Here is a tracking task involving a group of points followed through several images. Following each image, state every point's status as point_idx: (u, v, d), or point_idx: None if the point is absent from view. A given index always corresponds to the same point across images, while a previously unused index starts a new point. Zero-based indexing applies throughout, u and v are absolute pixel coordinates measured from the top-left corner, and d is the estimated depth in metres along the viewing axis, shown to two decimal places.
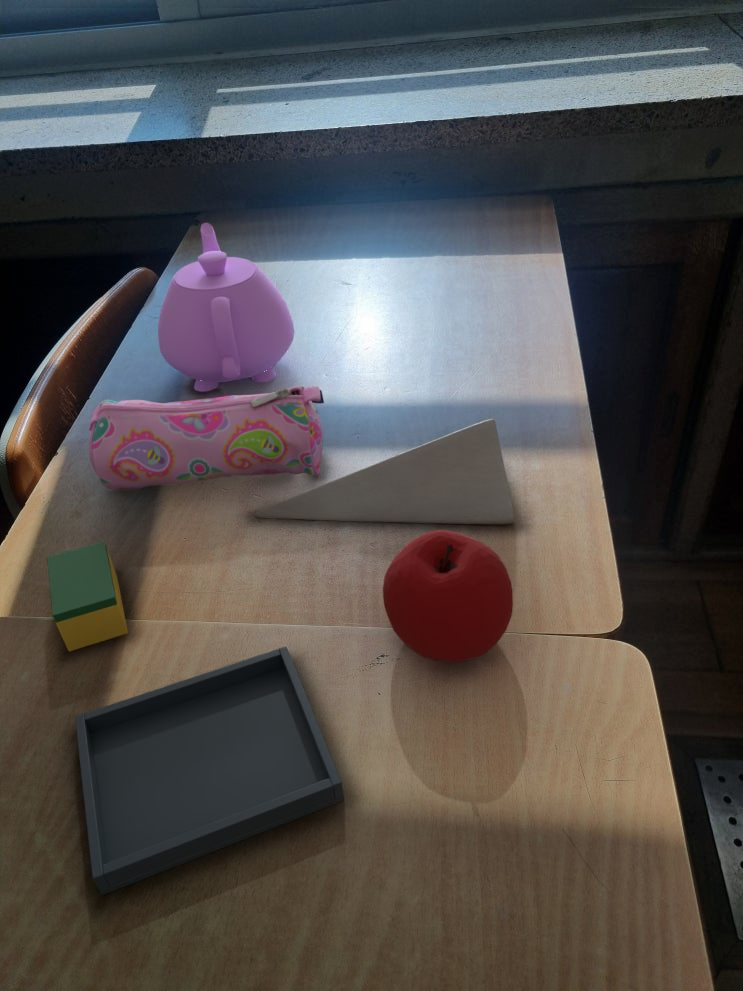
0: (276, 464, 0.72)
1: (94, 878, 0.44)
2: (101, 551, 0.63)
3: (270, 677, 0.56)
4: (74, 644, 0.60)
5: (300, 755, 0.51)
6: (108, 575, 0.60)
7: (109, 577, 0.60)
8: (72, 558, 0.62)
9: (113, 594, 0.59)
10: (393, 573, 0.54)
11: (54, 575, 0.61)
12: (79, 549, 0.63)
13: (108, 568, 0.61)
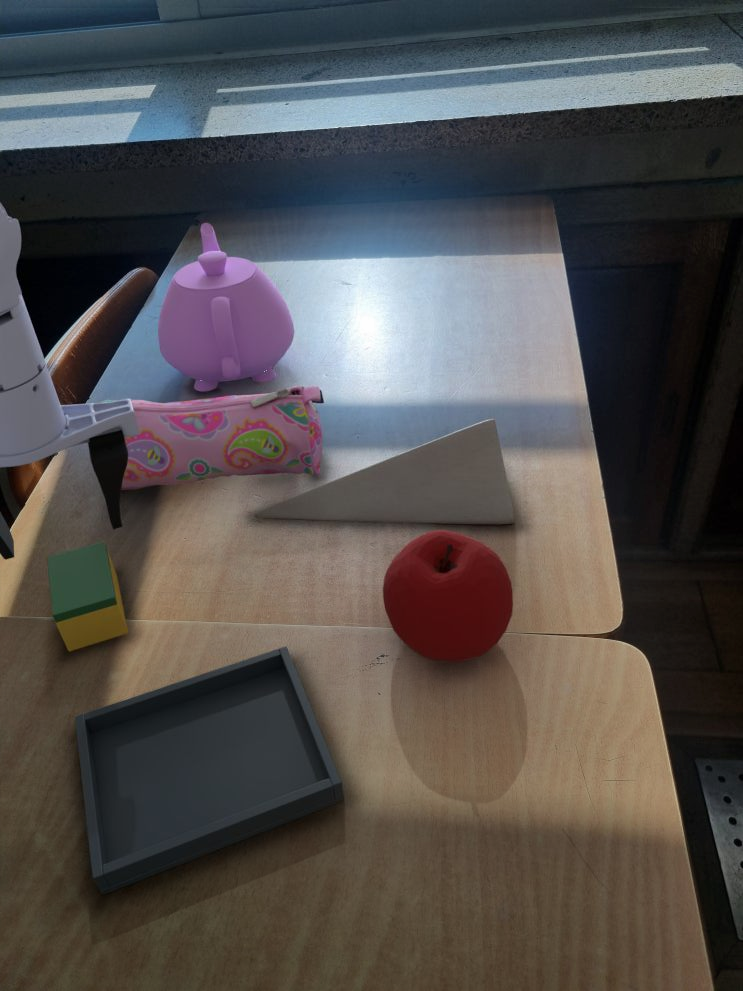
0: (276, 464, 0.72)
1: (94, 878, 0.44)
2: (101, 551, 0.63)
3: (270, 677, 0.56)
4: (74, 644, 0.60)
5: (300, 755, 0.51)
6: (108, 575, 0.60)
7: (109, 577, 0.60)
8: (72, 558, 0.62)
9: (113, 594, 0.59)
10: (393, 573, 0.54)
11: (54, 575, 0.61)
12: (79, 549, 0.63)
13: (108, 568, 0.61)
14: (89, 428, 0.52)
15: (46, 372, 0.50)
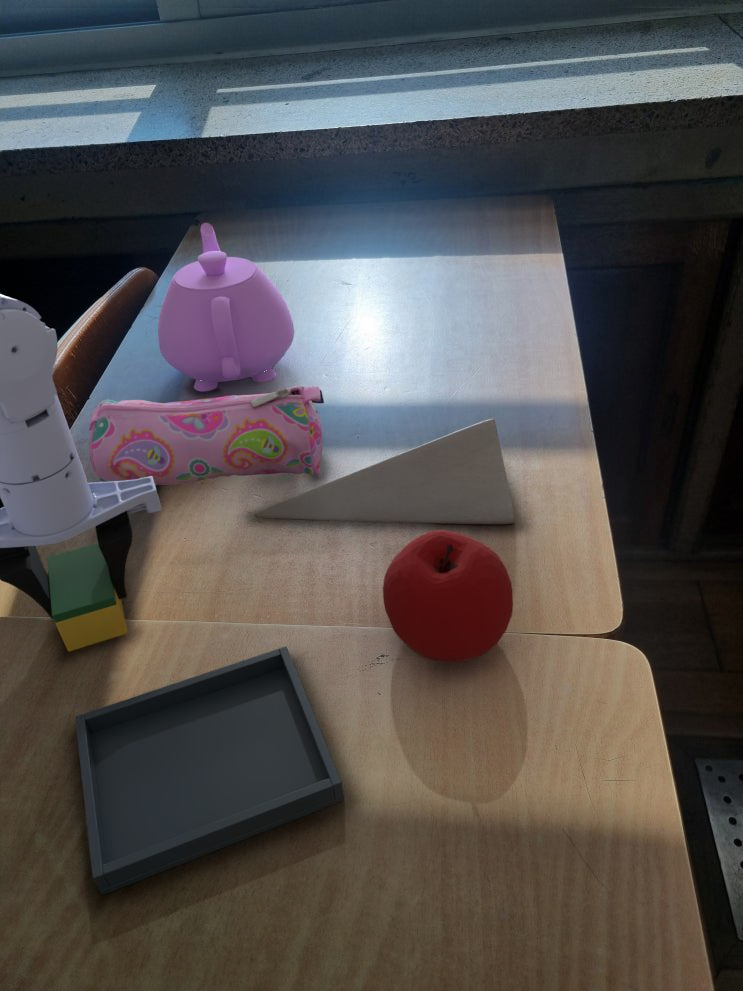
0: (276, 464, 0.72)
1: (94, 878, 0.44)
2: None
3: (270, 677, 0.56)
4: (74, 644, 0.59)
5: (300, 755, 0.51)
6: (108, 575, 0.60)
7: (109, 577, 0.60)
8: (72, 558, 0.62)
9: (113, 594, 0.59)
10: (393, 573, 0.54)
11: (54, 575, 0.61)
12: (79, 549, 0.63)
13: (108, 568, 0.61)
14: (115, 507, 0.56)
15: (77, 458, 0.54)
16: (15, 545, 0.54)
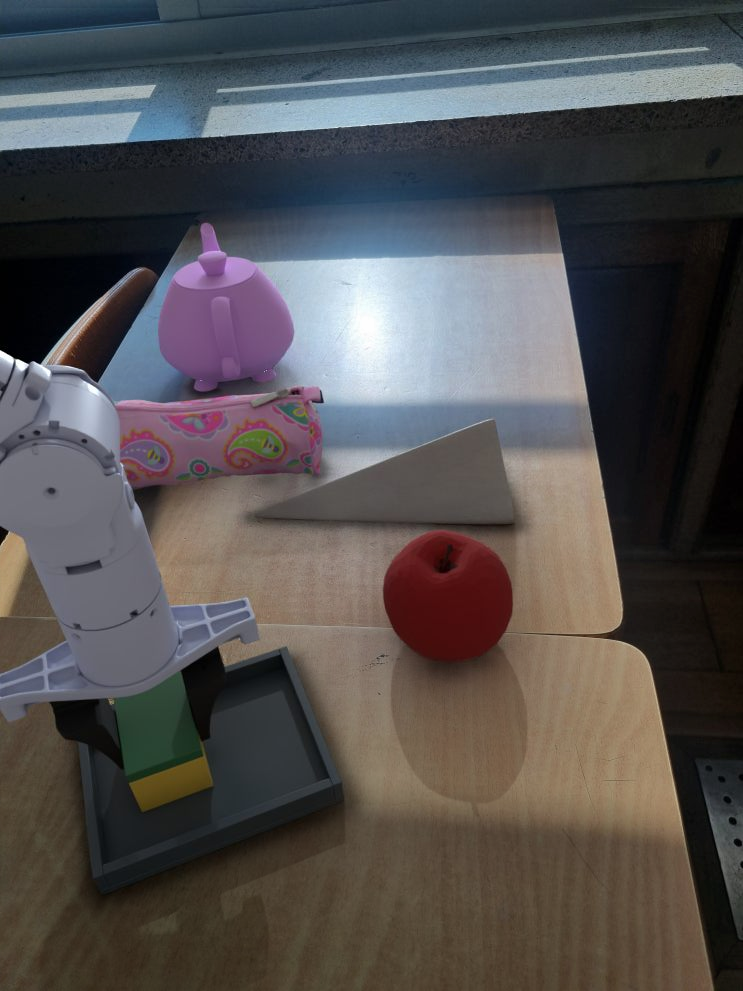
0: (276, 464, 0.72)
1: (94, 878, 0.44)
2: (177, 680, 0.51)
3: (270, 677, 0.56)
4: (149, 804, 0.48)
5: (300, 755, 0.51)
6: (190, 716, 0.49)
7: (191, 719, 0.49)
8: None
9: (199, 745, 0.47)
10: (393, 573, 0.54)
11: (123, 715, 0.49)
12: None
13: (189, 706, 0.50)
14: (207, 644, 0.45)
15: (162, 589, 0.43)
16: (84, 697, 0.43)
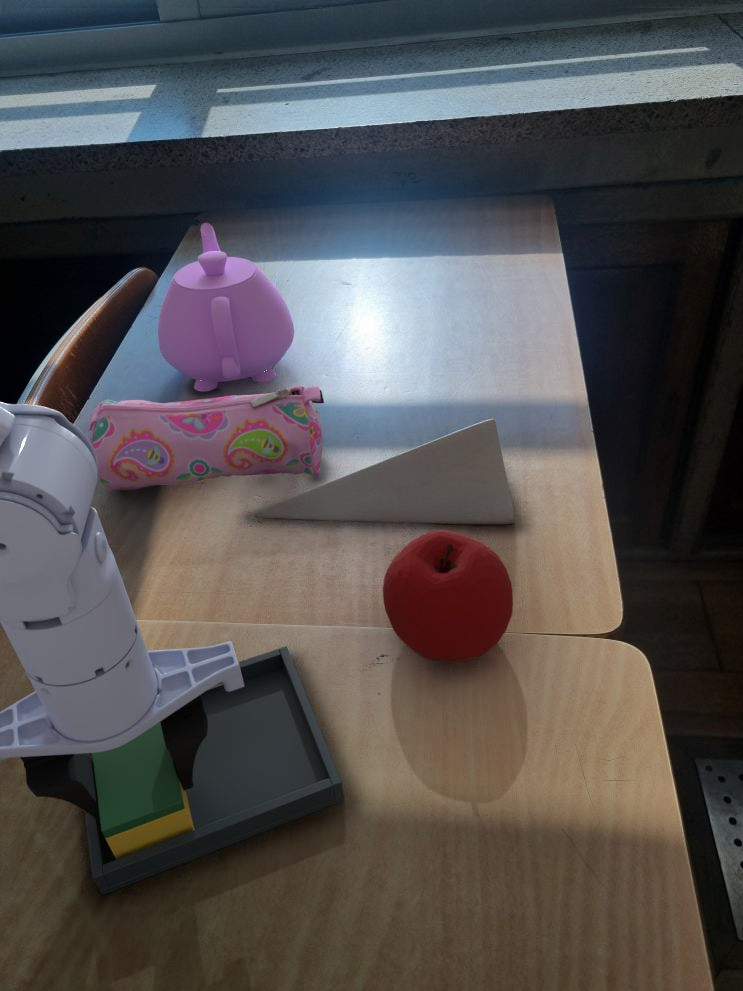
0: (276, 464, 0.72)
1: (94, 878, 0.44)
2: (159, 725, 0.48)
3: (270, 677, 0.56)
4: None
5: (300, 755, 0.51)
6: (171, 764, 0.46)
7: (172, 768, 0.46)
8: None
9: (180, 796, 0.45)
10: (393, 573, 0.54)
11: (100, 763, 0.47)
12: None
13: None
14: (188, 693, 0.42)
15: (139, 637, 0.40)
16: (56, 753, 0.40)
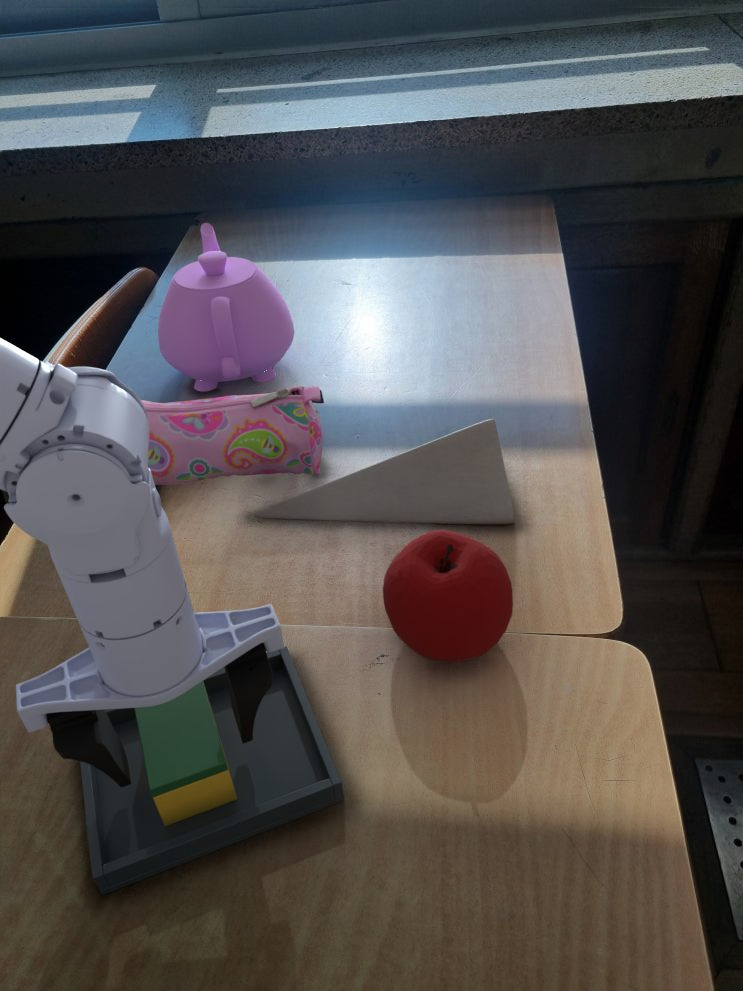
0: (276, 464, 0.72)
1: (94, 878, 0.44)
2: (200, 692, 0.50)
3: None
4: (172, 818, 0.47)
5: (300, 755, 0.51)
6: (213, 728, 0.48)
7: (215, 732, 0.48)
8: None
9: (224, 758, 0.46)
10: (393, 573, 0.54)
11: (145, 727, 0.48)
12: None
13: (212, 718, 0.49)
14: (232, 652, 0.44)
15: (188, 596, 0.42)
16: (107, 707, 0.42)
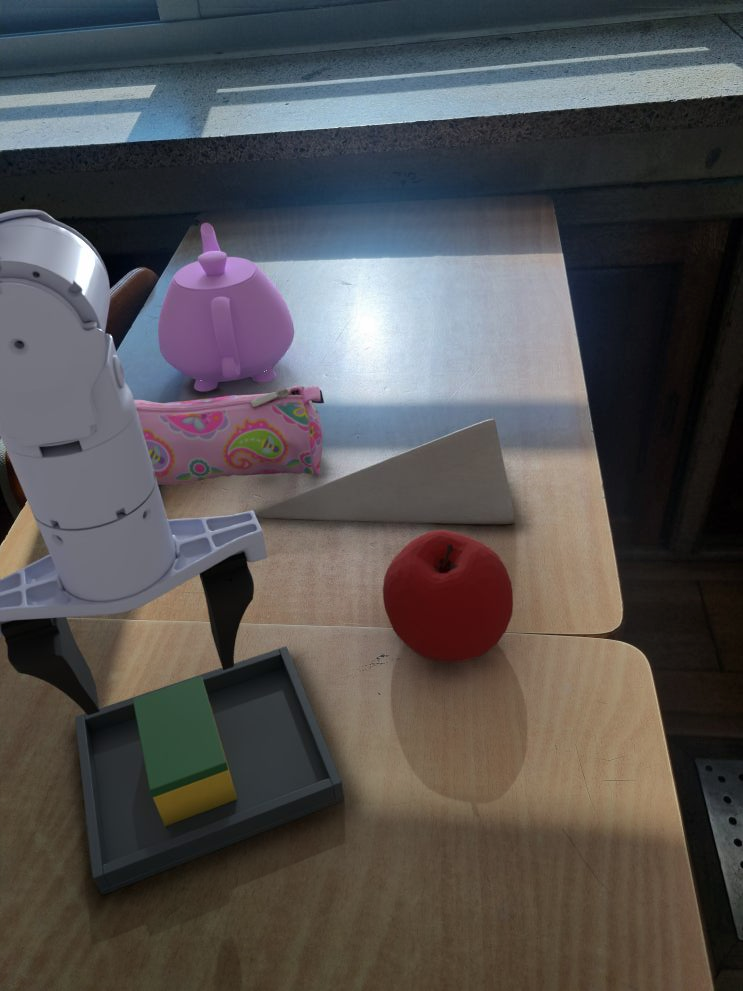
0: (276, 464, 0.72)
1: (94, 878, 0.44)
2: (200, 692, 0.50)
3: (270, 677, 0.56)
4: (172, 818, 0.47)
5: (300, 755, 0.51)
6: (213, 728, 0.48)
7: (215, 732, 0.48)
8: (165, 702, 0.50)
9: (224, 758, 0.46)
10: (393, 573, 0.54)
11: (145, 727, 0.48)
12: (172, 688, 0.51)
13: (212, 718, 0.49)
14: (208, 557, 0.39)
15: (157, 489, 0.37)
16: (67, 614, 0.38)
